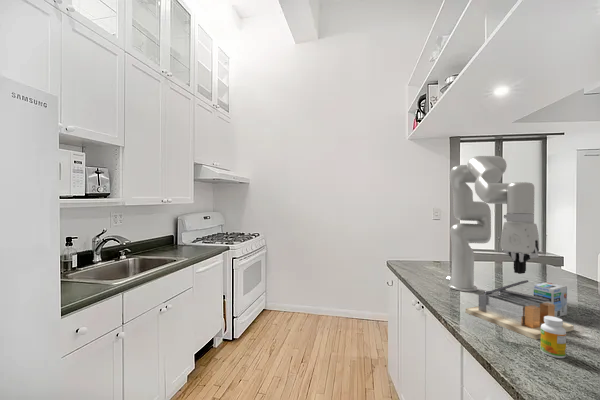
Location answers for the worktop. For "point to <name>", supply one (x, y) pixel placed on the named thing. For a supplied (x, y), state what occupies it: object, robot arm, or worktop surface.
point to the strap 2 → (524, 295)
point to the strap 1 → (505, 287)
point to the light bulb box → (553, 296)
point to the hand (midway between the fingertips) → (519, 272)
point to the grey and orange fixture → (516, 308)
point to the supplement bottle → (553, 337)
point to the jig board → (513, 324)
